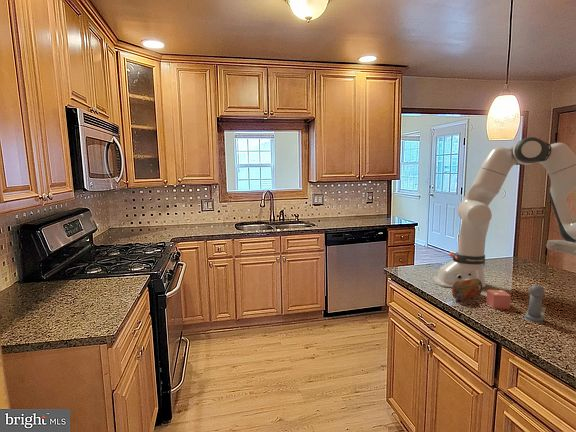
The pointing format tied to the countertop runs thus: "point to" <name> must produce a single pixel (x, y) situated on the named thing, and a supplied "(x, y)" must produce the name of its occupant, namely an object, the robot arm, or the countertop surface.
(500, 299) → the die
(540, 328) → the countertop surface
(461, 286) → the tin
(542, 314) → the board
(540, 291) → the pawn
